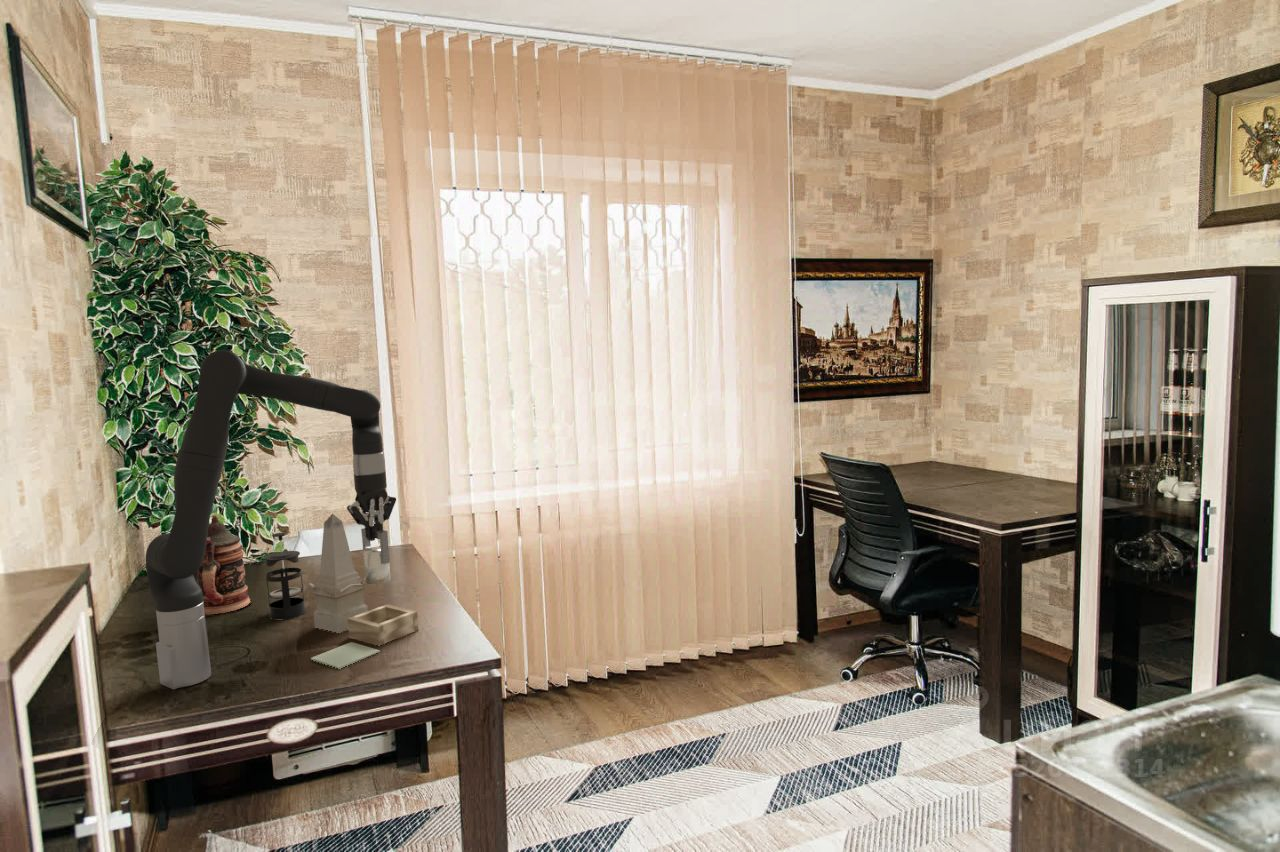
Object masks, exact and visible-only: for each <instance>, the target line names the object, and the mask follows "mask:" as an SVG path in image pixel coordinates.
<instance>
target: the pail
mask: <svg viewBox="0 0 1280 852" xmlns="http://www.w3.org/2000/svg"><path fill="white" fill-rule="evenodd" d="M360 530H361V540H362V541H361V542H362V554H363V555H362V557H363V567H364V568H363V569H364V578H365V582H366V583H367V584H369V585H380V584H384V583H387V582H389V581H391V568H390V566H391V565H390V564H391V563H390V549H389V533H388V530H384V529H383V530H377V529H374V530H375V531H374V532H375V539H376V538H380V539H379V545H380V546H371V545H372V544H371V541H369V540H368V539H367V538H366V534H365V527H364V528H361V529H360Z"/></svg>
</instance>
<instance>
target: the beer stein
mask: <svg viewBox="0 0 1280 852" xmlns="http://www.w3.org/2000/svg"><path fill="white" fill-rule="evenodd" d="M243 558H244V551H243V548H242V544H241V538H240V536H239V535H235V534H233V533H232V532H229V530H228V529H227V527H226V525H225V524H224V523H223V522H221V521H220V520H219V516H218V515H217V514H214V515H212V516H211V521H210V523H209V526H208V534H207V541H206V549H205V555H204V559H203V562H202V564H201V566H200V567H199V569H198V570H197V571H196V573H197V574H196V575H197V579H196V580H197V581H196V583H197V584H198V586H199V587H200V588H201V590H202V593H203V602H204V612H205V614H218V613H225V612H230V611H234V610H237V609H240V608H243V607H245V606H247V605H248V604H249V603H250V602H251V601H250V600H251V599H250V596H249V593H248V587H249V586H248V585H247V584H246V583H247V582H246V568H245V566H244V559H243Z"/></svg>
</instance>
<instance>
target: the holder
mask: <svg viewBox="0 0 1280 852" xmlns="http://www.w3.org/2000/svg"><path fill="white" fill-rule="evenodd" d="M418 618H419V617H418V611H417V610H412V609H408V608H405V607H400V606H395V605H392V604H388V603H387V604H383V605H381V606H378V607H376V608H373V609H370V610H368V611H367V612H364V613H362V614H359V615H356V616H353V617H350V618H348V630H347V631H348V637H349V639H352V640H355V639H356V641H359V642H362V641H363V643H366V642H367V643H366V644H369V643H371V644H370V645H372V644H375V645H374V646H376V645H378V646H377V647H381V646H380V645H382V644H384V645H386V644H385V643H387V642H389V641H392V640H394V639H397V638H399V637H401V638H403V637H402V636H404V635H406V636H408V635H407V634H409V633H411V632H414V631H416V632H418V631H419V619H418ZM417 630H418V631H417ZM414 633H415V632H414ZM411 634H412V633H411ZM409 635H410V634H409ZM404 637H405V636H404ZM399 639H400V638H399ZM397 640H398V639H397ZM394 641H395V640H394ZM392 642H393V641H392ZM389 643H390V642H389ZM387 644H388V643H387ZM382 646H383V645H382Z"/></svg>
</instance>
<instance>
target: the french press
mask: <svg viewBox="0 0 1280 852" xmlns="http://www.w3.org/2000/svg"><path fill="white" fill-rule="evenodd" d="M288 535H289V532H286V531H284V532H283V531H282V532H281V531H280V532H275V533H274V534H272V535H271V537H273V538H278V541H279V543H280V545H279V546H280V551H278V552H277V551H276V552H273V553H269V554H267V555H265V556H264V557H263V558H264V560H265V562H266V566H268V567H273V566H274V565H275V564H277V563H278V562H280V561H281V563H282V564H281V565H282V566H281V568H278V569H275V570H271V571H269V572H267V573H266V575H265V579H266V587H267V588H266V589H267V599H268V608H269V609H268V610H269V614H268V617H270V618H272V619H286V620H290V619H289V618H292V619H295V618H294V617H296V618H298V616H299V617H301V616H302V615H304V614H306V612H307V609H306V605H305V604H306V603H305V596H304V595H305V594H304V583H303V574H302V572H303V571H302V569H301V568H299V567H285V564H284V563H285V562H284V561H289V562H291V563H294V564H295V563H298V562H299V556H300V554H301V552H300V551H298V550H283V544H282V543H283V542H282V541H283V537H284V536H288ZM288 573H289V574H288ZM290 573H294V574H290ZM276 575H280V576H276ZM297 578H300V580H301V587H297V586H292V587H291V586H289V585H290V584H289V581H293V580H295V579H297ZM269 582H271V583H279V582H280V584H281V585H280V586H281V588H279V589H275V590H273V591H271V592H269V591H270V590H269ZM301 593H302V597H297V596H298V595H300V594H301ZM270 598H271V599H275V600H274V601H272V602H270V601H271V600H270ZM276 599H277V600H276ZM300 615H301V616H300ZM270 618H269V619H270ZM272 619H271V620H272Z"/></svg>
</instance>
